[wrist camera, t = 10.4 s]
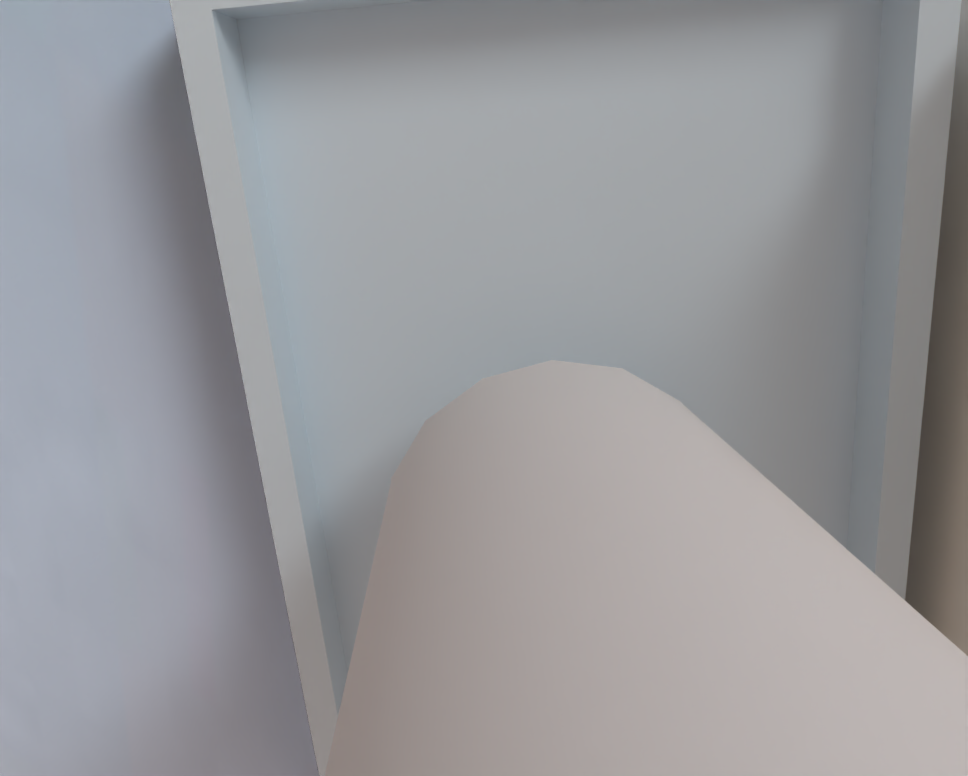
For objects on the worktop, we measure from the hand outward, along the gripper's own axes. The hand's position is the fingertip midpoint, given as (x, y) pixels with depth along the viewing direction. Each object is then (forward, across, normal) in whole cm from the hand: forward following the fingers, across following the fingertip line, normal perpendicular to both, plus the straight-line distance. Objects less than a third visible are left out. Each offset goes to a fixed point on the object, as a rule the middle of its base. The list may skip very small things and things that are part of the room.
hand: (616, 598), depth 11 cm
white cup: (+2, +1, 0) cm, 3 cm away
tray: (+5, 0, 0) cm, 5 cm away
